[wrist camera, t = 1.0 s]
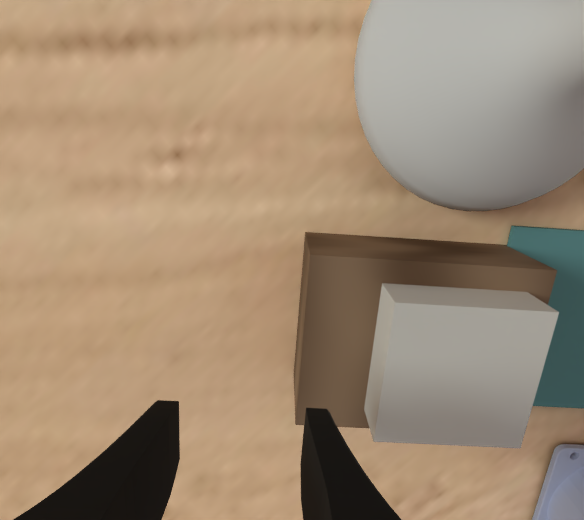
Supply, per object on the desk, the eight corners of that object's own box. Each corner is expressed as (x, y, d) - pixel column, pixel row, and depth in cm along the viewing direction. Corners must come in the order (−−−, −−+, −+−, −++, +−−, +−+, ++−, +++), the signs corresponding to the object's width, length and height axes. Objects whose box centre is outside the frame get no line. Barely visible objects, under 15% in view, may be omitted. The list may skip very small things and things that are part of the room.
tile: (527, 292, 16) (559, 312, 14) (495, 415, 18) (520, 448, 16) (382, 283, 16) (395, 302, 14) (364, 409, 18) (373, 441, 16)
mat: (656, 235, 20) (662, 236, 20) (598, 405, 23) (602, 409, 23) (511, 225, 20) (515, 226, 19) (471, 399, 23) (473, 402, 22)
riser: (504, 245, 20) (557, 270, 16) (473, 384, 22) (512, 434, 18) (305, 232, 20) (310, 254, 16) (293, 374, 22) (295, 424, 18)
